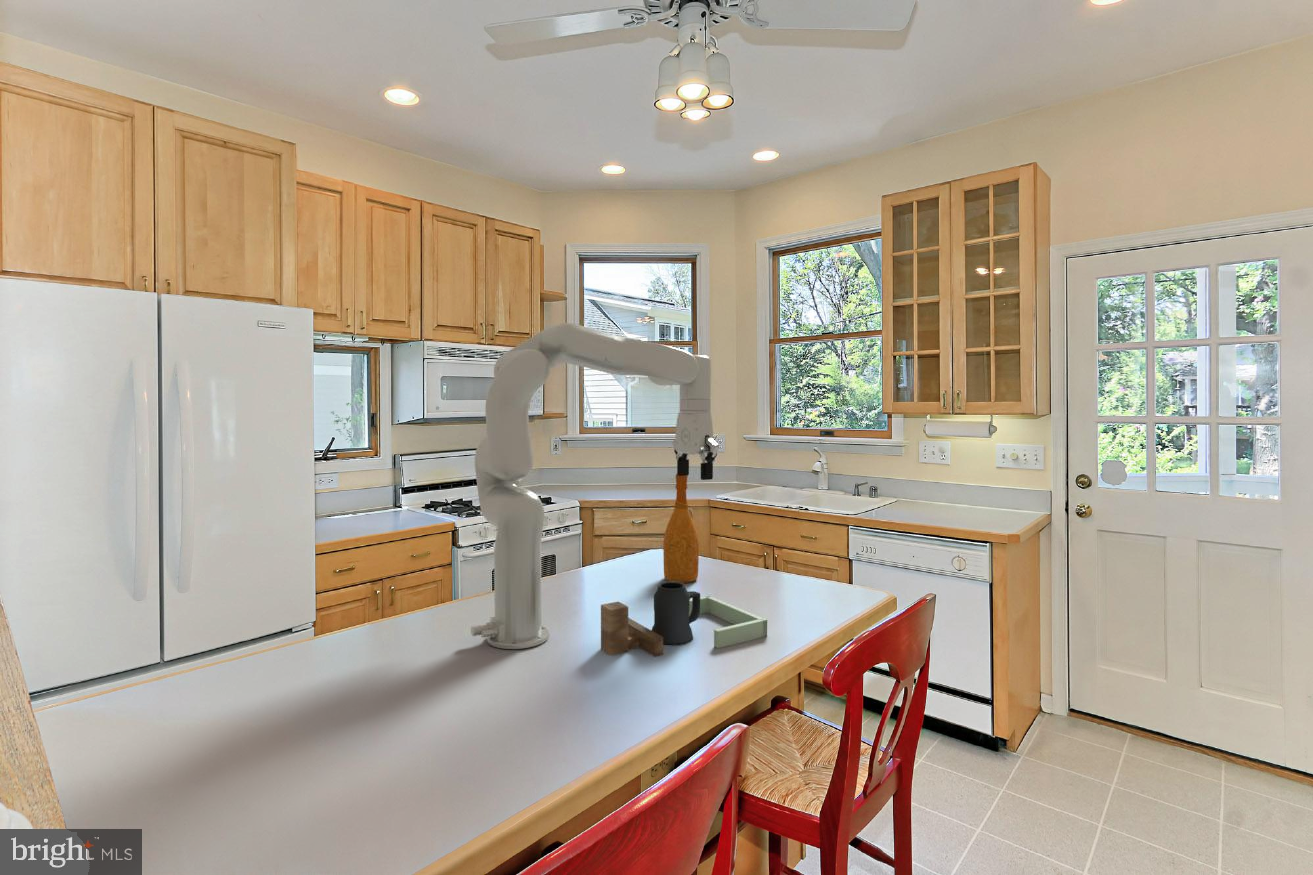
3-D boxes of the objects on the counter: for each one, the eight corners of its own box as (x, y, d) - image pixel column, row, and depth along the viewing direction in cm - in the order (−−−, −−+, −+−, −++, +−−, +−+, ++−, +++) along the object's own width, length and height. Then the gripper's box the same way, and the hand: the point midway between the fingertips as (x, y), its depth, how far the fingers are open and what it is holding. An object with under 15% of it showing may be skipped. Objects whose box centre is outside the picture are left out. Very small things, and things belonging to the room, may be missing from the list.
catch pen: (717, 648, 131) (717, 631, 131) (662, 619, 149) (662, 604, 148) (767, 636, 138) (767, 619, 138) (708, 610, 156) (708, 595, 155)
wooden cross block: (623, 664, 123) (623, 617, 123) (589, 641, 135) (589, 598, 135) (663, 654, 128) (663, 609, 128) (627, 633, 140) (627, 591, 139)
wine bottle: (699, 584, 178) (700, 474, 176) (663, 584, 178) (663, 474, 176) (697, 575, 187) (698, 470, 186) (663, 574, 188) (663, 470, 186)
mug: (668, 649, 131) (669, 593, 130) (641, 636, 138) (641, 583, 138) (712, 635, 139) (712, 583, 138) (683, 624, 146) (683, 574, 145)
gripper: (662, 406, 163) (662, 475, 164) (704, 407, 148) (703, 482, 149) (687, 406, 167) (686, 473, 168) (729, 407, 153) (729, 480, 153)
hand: (694, 477), depth 159 cm, fingers open, 9 cm apart
